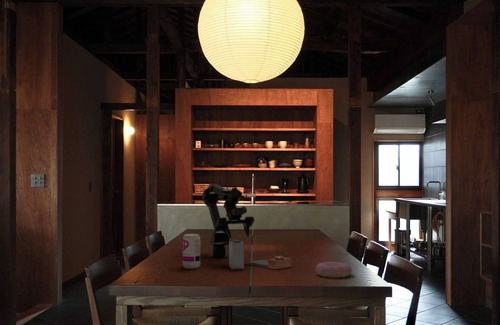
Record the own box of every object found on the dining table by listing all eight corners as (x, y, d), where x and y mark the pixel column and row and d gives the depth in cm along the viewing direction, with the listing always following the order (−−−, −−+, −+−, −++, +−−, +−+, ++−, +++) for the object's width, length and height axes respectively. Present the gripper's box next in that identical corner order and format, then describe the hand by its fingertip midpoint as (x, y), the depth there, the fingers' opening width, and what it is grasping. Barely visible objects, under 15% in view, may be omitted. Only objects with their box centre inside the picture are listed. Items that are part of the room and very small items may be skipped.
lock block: (229, 267, 235) (229, 239, 236) (240, 266, 237) (240, 239, 237) (232, 269, 230) (232, 241, 230) (243, 268, 231) (243, 240, 232)
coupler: (247, 264, 243) (247, 253, 243) (262, 261, 249) (262, 251, 250) (275, 269, 229) (275, 258, 229) (290, 267, 236) (290, 256, 236)
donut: (327, 280, 207) (327, 268, 207) (308, 273, 220) (308, 262, 221) (359, 277, 213) (359, 265, 213) (338, 271, 227) (338, 260, 227)
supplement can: (186, 269, 230) (186, 236, 231) (180, 266, 238) (180, 234, 238) (202, 267, 234) (203, 235, 234) (196, 264, 241) (196, 233, 242)
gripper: (218, 201, 242) (226, 228, 233) (254, 200, 250) (262, 226, 241) (212, 214, 250) (219, 241, 241) (246, 213, 258) (254, 239, 248)
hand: (239, 236), depth 242 cm, fingers open, 9 cm apart
